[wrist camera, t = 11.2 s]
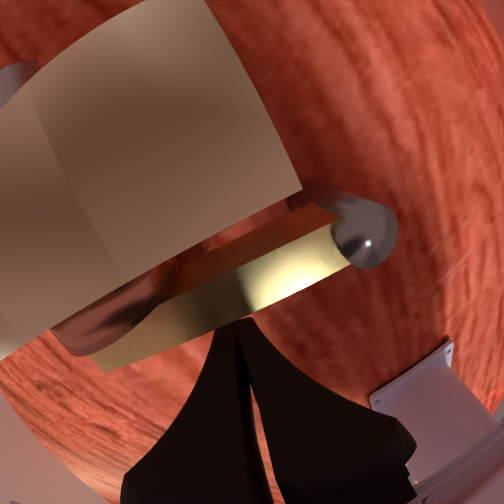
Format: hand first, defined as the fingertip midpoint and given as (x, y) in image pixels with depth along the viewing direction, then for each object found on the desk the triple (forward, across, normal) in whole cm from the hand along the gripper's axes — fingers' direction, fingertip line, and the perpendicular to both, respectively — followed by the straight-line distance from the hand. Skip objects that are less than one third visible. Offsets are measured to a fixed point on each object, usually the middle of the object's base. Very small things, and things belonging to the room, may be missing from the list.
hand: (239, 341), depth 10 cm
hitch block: (+2, +4, -6) cm, 8 cm away
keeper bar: (+2, 0, -3) cm, 4 cm away
